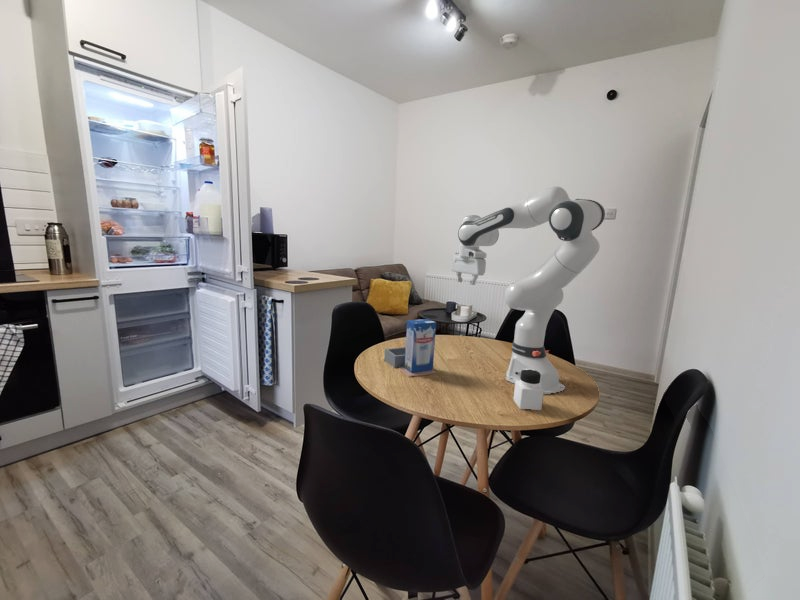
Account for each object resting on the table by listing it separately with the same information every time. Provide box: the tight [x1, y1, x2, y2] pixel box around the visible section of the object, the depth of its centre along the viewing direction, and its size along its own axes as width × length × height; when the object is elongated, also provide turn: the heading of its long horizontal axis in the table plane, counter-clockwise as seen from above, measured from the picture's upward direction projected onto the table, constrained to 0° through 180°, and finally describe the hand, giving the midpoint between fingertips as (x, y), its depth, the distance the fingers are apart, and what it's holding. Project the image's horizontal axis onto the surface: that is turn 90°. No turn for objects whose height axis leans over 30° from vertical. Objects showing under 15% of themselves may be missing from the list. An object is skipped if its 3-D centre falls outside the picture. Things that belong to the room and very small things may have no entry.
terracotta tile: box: [397, 367, 436, 378], centre depth 140 cm, size 9×12×1 cm
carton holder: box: [383, 346, 406, 369], centre depth 149 cm, size 10×14×5 cm
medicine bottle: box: [512, 369, 545, 411], centre depth 114 cm, size 7×7×12 cm
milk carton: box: [404, 318, 437, 373], centre depth 139 cm, size 10×6×20 cm, turn 117°
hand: (466, 283), depth 158 cm, fingers open, 8 cm apart
